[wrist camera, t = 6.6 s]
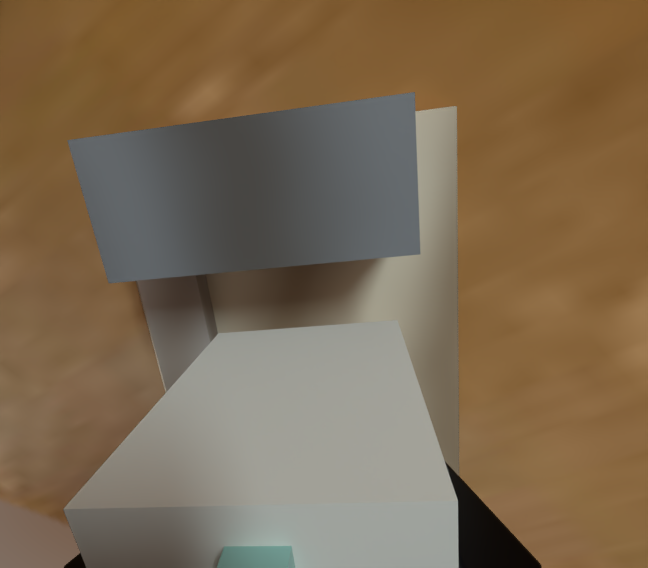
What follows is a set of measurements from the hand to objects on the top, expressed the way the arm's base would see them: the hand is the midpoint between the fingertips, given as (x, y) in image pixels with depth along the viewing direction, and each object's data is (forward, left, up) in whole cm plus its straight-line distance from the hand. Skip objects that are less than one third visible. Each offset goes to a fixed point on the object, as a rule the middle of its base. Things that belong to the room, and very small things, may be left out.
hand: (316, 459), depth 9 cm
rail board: (+1, 0, -6) cm, 6 cm away
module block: (0, 0, -1) cm, 1 cm away
